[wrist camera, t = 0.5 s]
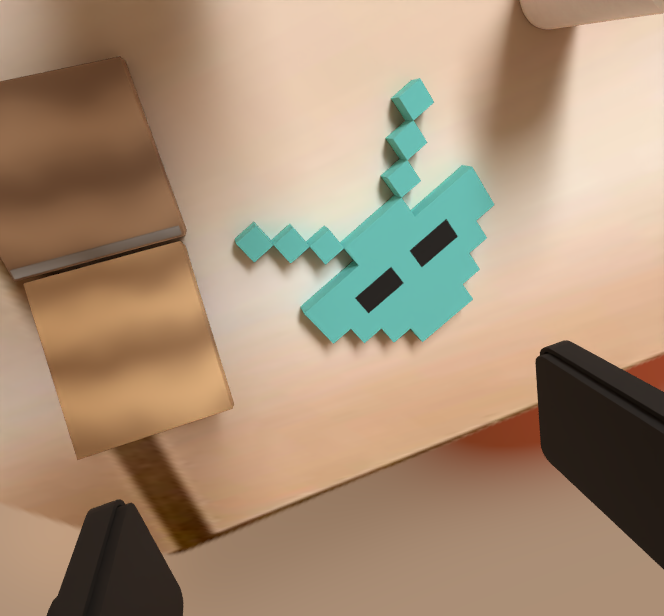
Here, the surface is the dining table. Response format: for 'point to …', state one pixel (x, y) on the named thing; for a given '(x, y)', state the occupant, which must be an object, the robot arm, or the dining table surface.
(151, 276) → the oak plank
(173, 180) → the dining table surface
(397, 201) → the alien figure
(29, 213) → the walnut board
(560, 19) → the coffee cup
